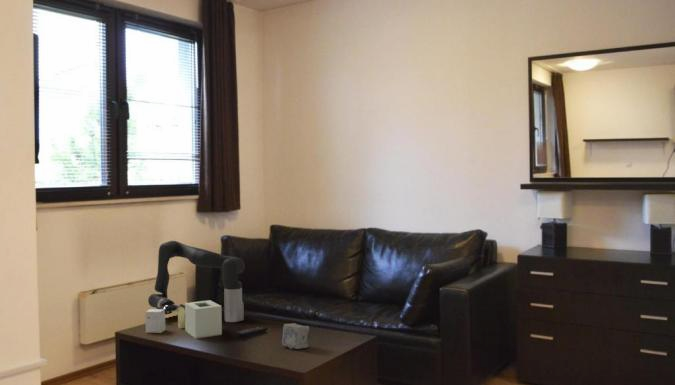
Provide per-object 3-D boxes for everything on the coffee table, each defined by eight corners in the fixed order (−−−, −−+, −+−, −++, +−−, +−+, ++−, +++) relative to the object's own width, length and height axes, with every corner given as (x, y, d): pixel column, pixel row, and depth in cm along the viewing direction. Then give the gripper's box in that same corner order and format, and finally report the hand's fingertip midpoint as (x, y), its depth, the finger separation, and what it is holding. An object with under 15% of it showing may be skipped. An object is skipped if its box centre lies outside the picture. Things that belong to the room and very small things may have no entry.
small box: (165, 330, 301) (165, 309, 301) (161, 333, 295) (160, 311, 295) (150, 329, 302) (149, 308, 301) (145, 332, 296) (145, 311, 296)
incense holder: (310, 347, 270) (309, 324, 269) (297, 351, 263) (297, 328, 263) (293, 343, 276) (293, 321, 276) (281, 347, 269) (281, 324, 269)
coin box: (210, 327, 305) (210, 300, 305) (221, 334, 291) (221, 306, 291) (185, 331, 298) (184, 303, 298) (195, 338, 285) (195, 309, 284)
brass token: (182, 326, 307) (182, 307, 307) (184, 327, 305) (184, 308, 304) (178, 327, 306) (177, 307, 306) (179, 328, 303) (179, 308, 303)
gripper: (152, 300, 325) (161, 305, 311) (179, 297, 332) (188, 302, 318) (153, 314, 325) (161, 320, 311) (179, 310, 332) (188, 316, 318)
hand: (174, 311), depth 315 cm, fingers open, 8 cm apart
